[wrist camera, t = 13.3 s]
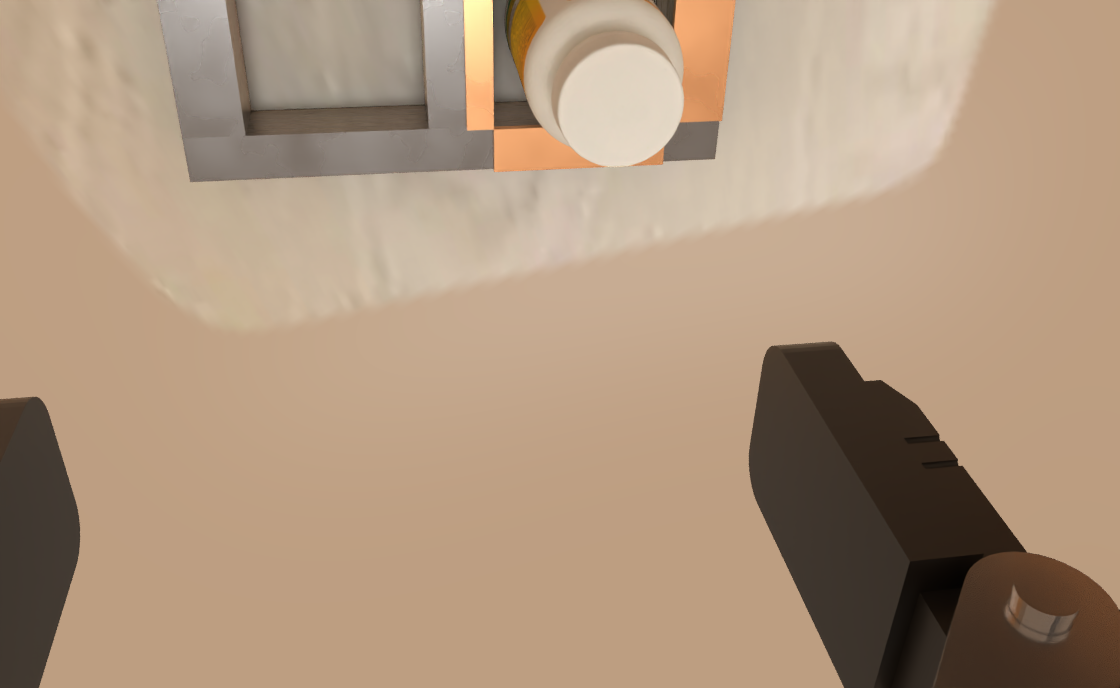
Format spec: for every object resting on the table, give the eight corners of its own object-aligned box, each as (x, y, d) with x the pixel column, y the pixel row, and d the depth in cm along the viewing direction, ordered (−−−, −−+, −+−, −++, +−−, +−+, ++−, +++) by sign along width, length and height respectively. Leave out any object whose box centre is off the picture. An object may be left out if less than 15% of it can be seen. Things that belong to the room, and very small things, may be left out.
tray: (149, -124, 35) (135, -109, 33) (724, -126, 38) (748, -112, 36) (198, 155, 41) (189, 185, 38) (697, 135, 44) (717, 162, 41)
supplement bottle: (590, -88, 38) (651, -19, 30) (665, 29, 41) (739, 120, 33) (473, 3, 39) (501, 92, 31) (554, 111, 42) (599, 218, 34)
